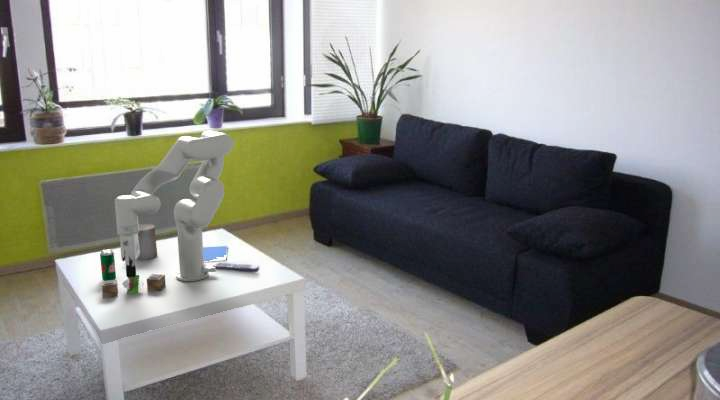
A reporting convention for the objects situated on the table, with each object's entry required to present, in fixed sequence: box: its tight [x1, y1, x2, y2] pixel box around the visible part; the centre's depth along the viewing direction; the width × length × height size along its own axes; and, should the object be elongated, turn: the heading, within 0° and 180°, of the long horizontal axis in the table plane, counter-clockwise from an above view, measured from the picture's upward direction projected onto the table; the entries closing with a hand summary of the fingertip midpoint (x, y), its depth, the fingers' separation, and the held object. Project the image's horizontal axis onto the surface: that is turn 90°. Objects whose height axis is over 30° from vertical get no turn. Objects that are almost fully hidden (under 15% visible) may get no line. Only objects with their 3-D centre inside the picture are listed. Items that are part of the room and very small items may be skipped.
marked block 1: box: [101, 279, 119, 299], centre depth 238 cm, size 5×5×5 cm
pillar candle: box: [136, 223, 158, 261], centre depth 279 cm, size 10×10×15 cm
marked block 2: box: [146, 273, 167, 293], centre depth 244 cm, size 5×5×5 cm
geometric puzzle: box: [121, 274, 145, 294], centre depth 241 cm, size 7×7×8 cm
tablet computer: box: [203, 245, 229, 261], centre depth 283 cm, size 19×13×1 cm, turn 10°
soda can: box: [99, 248, 117, 281], centre depth 252 cm, size 5×5×12 cm
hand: (131, 276), depth 239 cm, fingers closed
